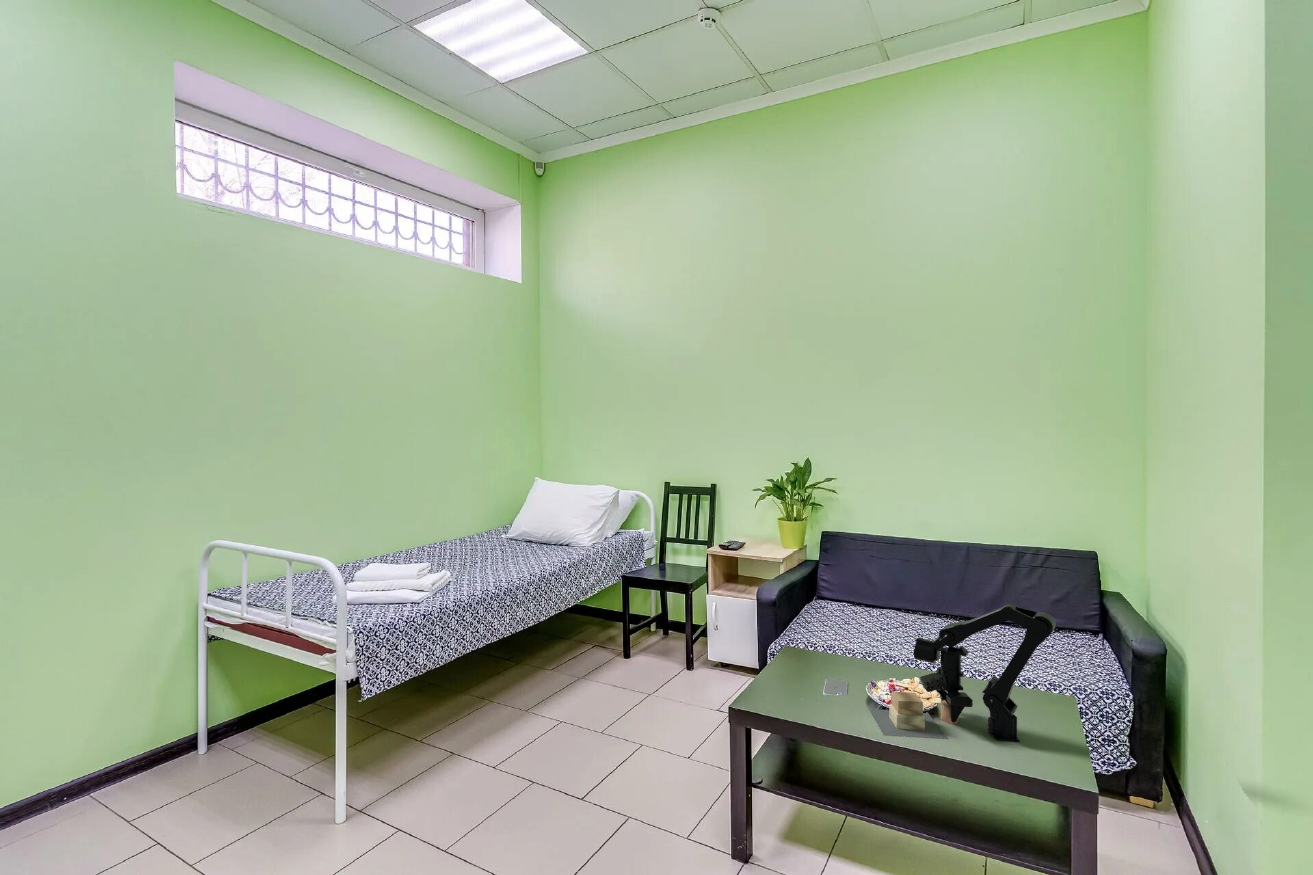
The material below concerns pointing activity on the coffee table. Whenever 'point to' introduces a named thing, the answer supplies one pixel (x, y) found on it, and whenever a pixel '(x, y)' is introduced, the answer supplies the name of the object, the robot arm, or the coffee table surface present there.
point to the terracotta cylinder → (946, 713)
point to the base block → (906, 720)
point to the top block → (907, 703)
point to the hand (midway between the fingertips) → (950, 718)
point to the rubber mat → (890, 729)
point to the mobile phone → (835, 687)
